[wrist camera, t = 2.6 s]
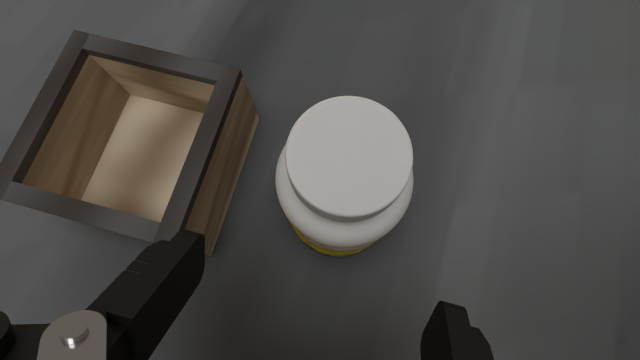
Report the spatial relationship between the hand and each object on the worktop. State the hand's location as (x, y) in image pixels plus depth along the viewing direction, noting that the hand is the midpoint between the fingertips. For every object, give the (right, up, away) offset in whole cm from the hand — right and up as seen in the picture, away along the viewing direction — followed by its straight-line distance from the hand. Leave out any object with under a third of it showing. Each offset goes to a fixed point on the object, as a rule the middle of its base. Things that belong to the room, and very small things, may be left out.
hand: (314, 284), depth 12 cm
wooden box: (-10, +5, +12) cm, 17 cm away
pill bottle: (+1, +1, +12) cm, 12 cm away
